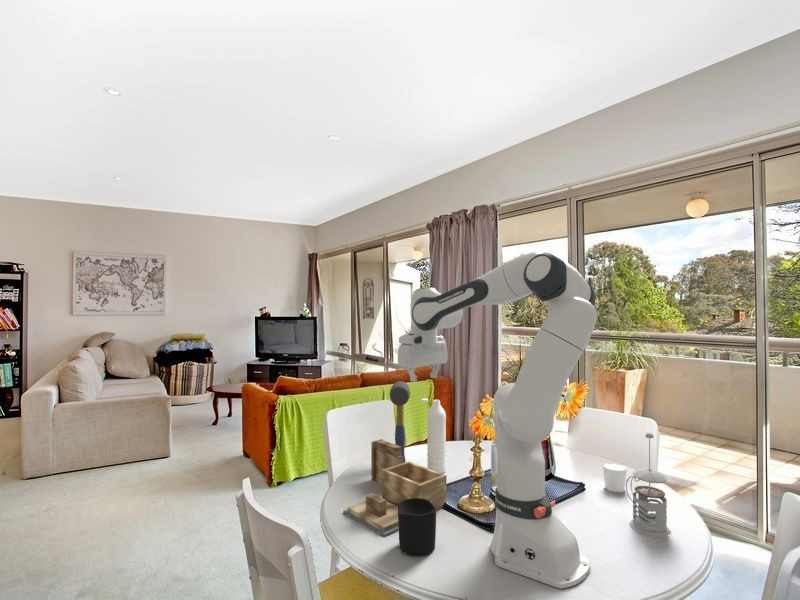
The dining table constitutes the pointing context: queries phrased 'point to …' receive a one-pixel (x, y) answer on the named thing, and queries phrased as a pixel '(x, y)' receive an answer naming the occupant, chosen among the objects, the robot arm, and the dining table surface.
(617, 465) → the white cup
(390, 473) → the wooden open box
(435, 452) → the water bottle
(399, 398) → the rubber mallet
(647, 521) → the french press
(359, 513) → the lid
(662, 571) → the dining table surface
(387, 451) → the key
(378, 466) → the rail
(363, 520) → the mat
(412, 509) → the pen holder
